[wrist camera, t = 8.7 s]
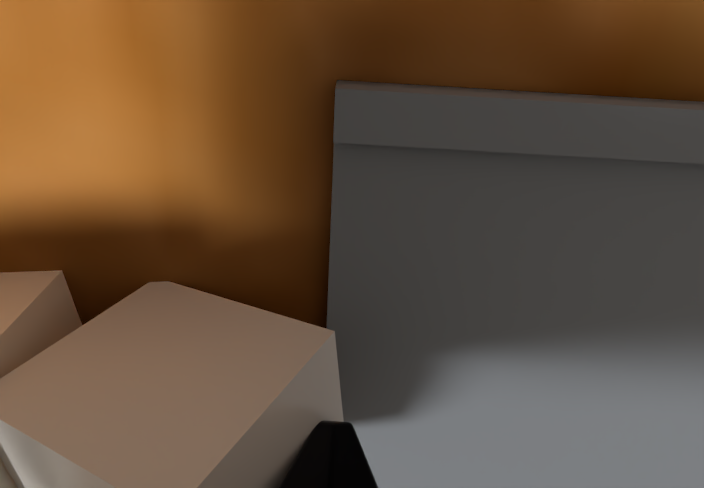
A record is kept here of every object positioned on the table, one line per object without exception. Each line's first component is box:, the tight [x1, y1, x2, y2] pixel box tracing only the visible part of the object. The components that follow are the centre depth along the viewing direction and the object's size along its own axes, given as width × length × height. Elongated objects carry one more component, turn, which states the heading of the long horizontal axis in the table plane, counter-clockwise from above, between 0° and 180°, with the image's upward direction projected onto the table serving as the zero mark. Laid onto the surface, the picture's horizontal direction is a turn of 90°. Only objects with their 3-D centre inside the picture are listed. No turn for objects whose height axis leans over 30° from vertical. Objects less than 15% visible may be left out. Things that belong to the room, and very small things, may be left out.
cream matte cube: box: [0, 281, 344, 488], centre depth 9 cm, size 4×4×4 cm
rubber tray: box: [327, 80, 704, 488], centre depth 11 cm, size 12×12×1 cm
